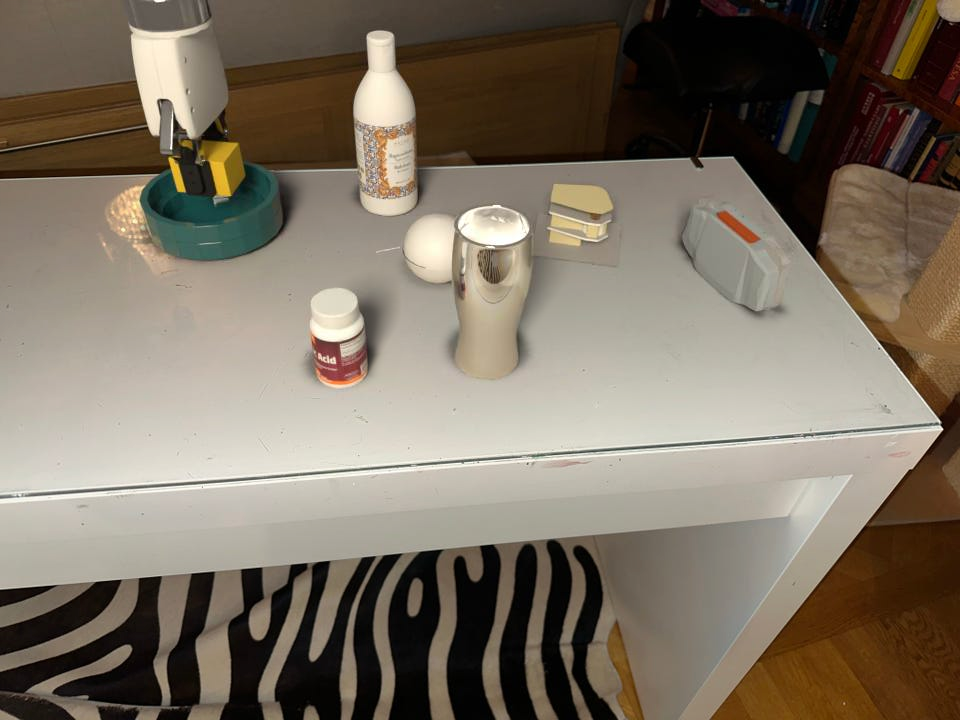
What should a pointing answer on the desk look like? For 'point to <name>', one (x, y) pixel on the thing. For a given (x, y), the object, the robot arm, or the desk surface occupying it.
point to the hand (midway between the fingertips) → (211, 181)
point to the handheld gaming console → (736, 255)
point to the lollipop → (430, 247)
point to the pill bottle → (338, 338)
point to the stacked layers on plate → (578, 226)
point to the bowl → (213, 216)
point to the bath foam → (385, 132)
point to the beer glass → (490, 286)
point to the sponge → (217, 166)
